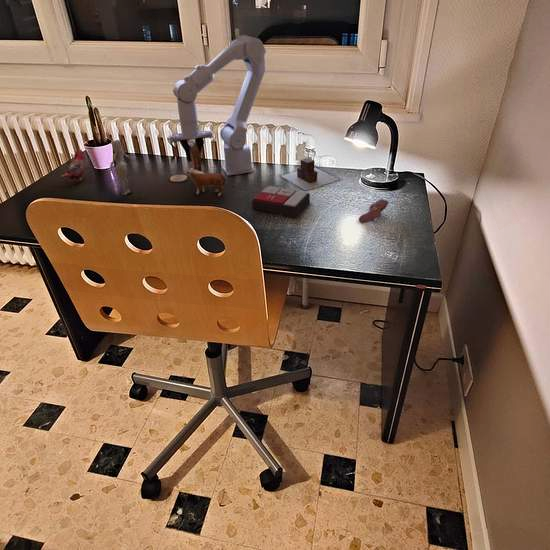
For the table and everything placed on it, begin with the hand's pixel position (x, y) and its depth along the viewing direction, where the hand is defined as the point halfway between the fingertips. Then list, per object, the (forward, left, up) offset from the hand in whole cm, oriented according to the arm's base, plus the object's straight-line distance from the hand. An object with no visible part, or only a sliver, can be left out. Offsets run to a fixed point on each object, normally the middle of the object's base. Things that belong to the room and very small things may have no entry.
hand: (194, 160), depth 146 cm
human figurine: (+24, +4, -7) cm, 25 cm away
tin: (0, 0, -3) cm, 3 cm away
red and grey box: (-21, +31, -7) cm, 38 cm away
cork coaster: (+6, -2, -7) cm, 9 cm away
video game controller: (-44, +48, -7) cm, 65 cm away
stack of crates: (-38, +14, -7) cm, 41 cm away
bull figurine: (-1, +13, -7) cm, 15 cm away
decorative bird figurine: (+40, -11, -7) cm, 42 cm away
